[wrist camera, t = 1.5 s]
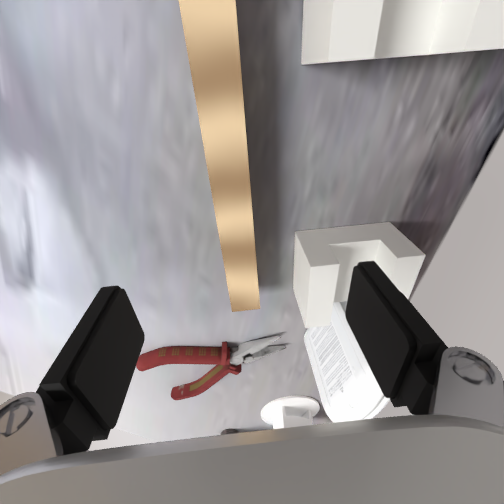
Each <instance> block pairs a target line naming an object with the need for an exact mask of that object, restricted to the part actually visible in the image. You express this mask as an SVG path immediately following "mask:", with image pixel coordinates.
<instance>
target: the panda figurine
mask: <svg viewBox="0 0 504 504" xmlns="http://www.w3.org/2000/svg"><path fill="white" fill-rule="evenodd" d="M319 409H320V407H319V403H318V402H317V401H316V400H315V399H313V398H311V397H308V396H299V395H297V396H287V397H282V398H279V399H276V400H274V401H272V402H270V403H268V404H267V405H265V406H264V407H263V409H262V410H261V418H262V419H263V421H265V422H266V423H269V424H272V425H273V429H280V428H289V427H298V426H307V425H313V420H312V417H314V416H315V415H316V414H317V413H318V411H319Z"/></svg>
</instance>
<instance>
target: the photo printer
mask: <svg viewBox="0 0 504 504" xmlns="http://www.w3.org/2000/svg"><path fill="white" fill-rule="evenodd" d="M346 305H347V301H344V302H335V303H333V308H332V314H331V320H330V326H321V327H312V328H308V329H307V331H306V333H305V335H304V342H305V345H306V349H307V352H308V355H309V359H310V362H311V366H312V369H313V373H314V376H315V380H316V383H317V387H318V390H319V394H320V397H321V401H322V404H323V407H324V410H325V412H326V414H327V415H328V417H329V418H330V419H331V420H332V421H333V422H334V423H335V422H345V421H354V420H363V419H371V418H373V417H374V416H376V415H377V414H378V413H379V412H380V411H381V410H382V409H383V408H384V407H385V406H386V405H387V404H388V402H389V401H390V398H386V397H385V396H384V395H383V393H382V391H381V389H380V387H379V385H378V383H377V381H376V379H375V377H374V375H373V373H372V371H371V369H370V367H369V365H368V363H367V361H366V359H365V357H364V355H363V353H362V351H361V349H360V347H359V345H358V342H357V340H356V338H355V336H354V334H353V332H352V330H351V328H350V326H349V324H348V322H347V320H346V316H345V311H346Z"/></svg>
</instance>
